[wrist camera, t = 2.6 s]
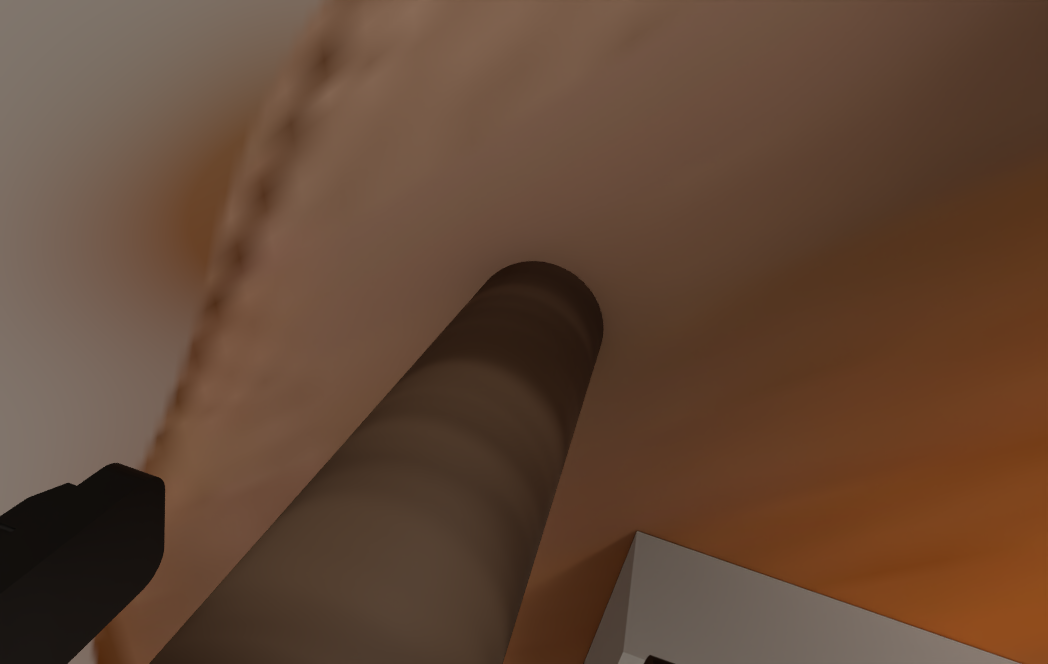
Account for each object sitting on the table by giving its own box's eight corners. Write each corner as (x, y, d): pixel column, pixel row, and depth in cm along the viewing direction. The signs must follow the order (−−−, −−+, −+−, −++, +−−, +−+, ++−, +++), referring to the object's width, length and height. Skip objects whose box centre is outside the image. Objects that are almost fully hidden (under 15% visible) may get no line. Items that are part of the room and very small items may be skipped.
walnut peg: (488, 244, 20) (130, 586, 7) (619, 284, 19) (485, 723, 7) (462, 361, 21) (135, 805, 9) (582, 401, 21) (419, 926, 8)
